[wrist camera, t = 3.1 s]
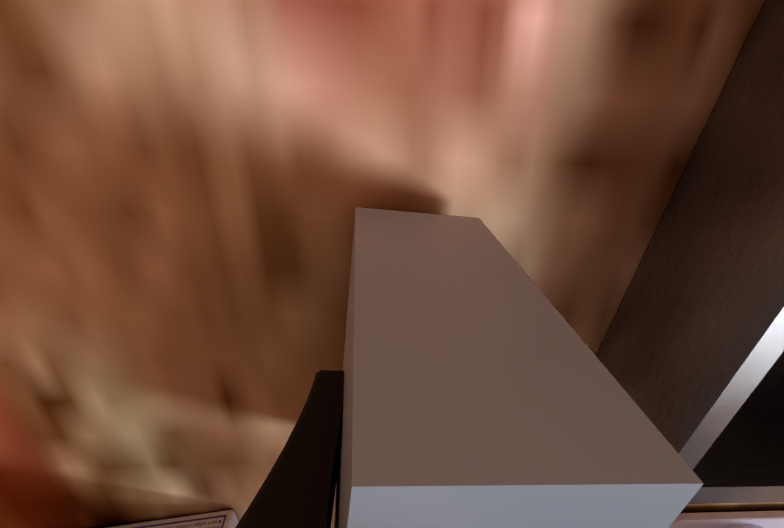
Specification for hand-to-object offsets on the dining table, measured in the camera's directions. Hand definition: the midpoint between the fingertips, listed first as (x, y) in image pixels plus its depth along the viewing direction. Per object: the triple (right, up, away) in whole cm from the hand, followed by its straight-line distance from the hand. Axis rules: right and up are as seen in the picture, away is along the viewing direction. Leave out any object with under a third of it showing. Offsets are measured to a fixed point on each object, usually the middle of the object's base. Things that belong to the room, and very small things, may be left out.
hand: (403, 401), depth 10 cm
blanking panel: (0, +1, +2) cm, 2 cm away
